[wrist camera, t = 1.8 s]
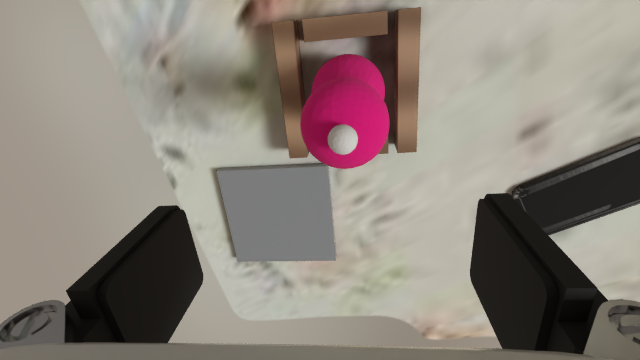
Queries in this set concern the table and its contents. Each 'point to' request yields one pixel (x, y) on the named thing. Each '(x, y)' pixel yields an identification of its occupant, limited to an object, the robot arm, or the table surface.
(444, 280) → the table surface
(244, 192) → the slate tile
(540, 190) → the phone
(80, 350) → the robot arm
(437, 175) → the table surface
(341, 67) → the pepper mill
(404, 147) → the collar
